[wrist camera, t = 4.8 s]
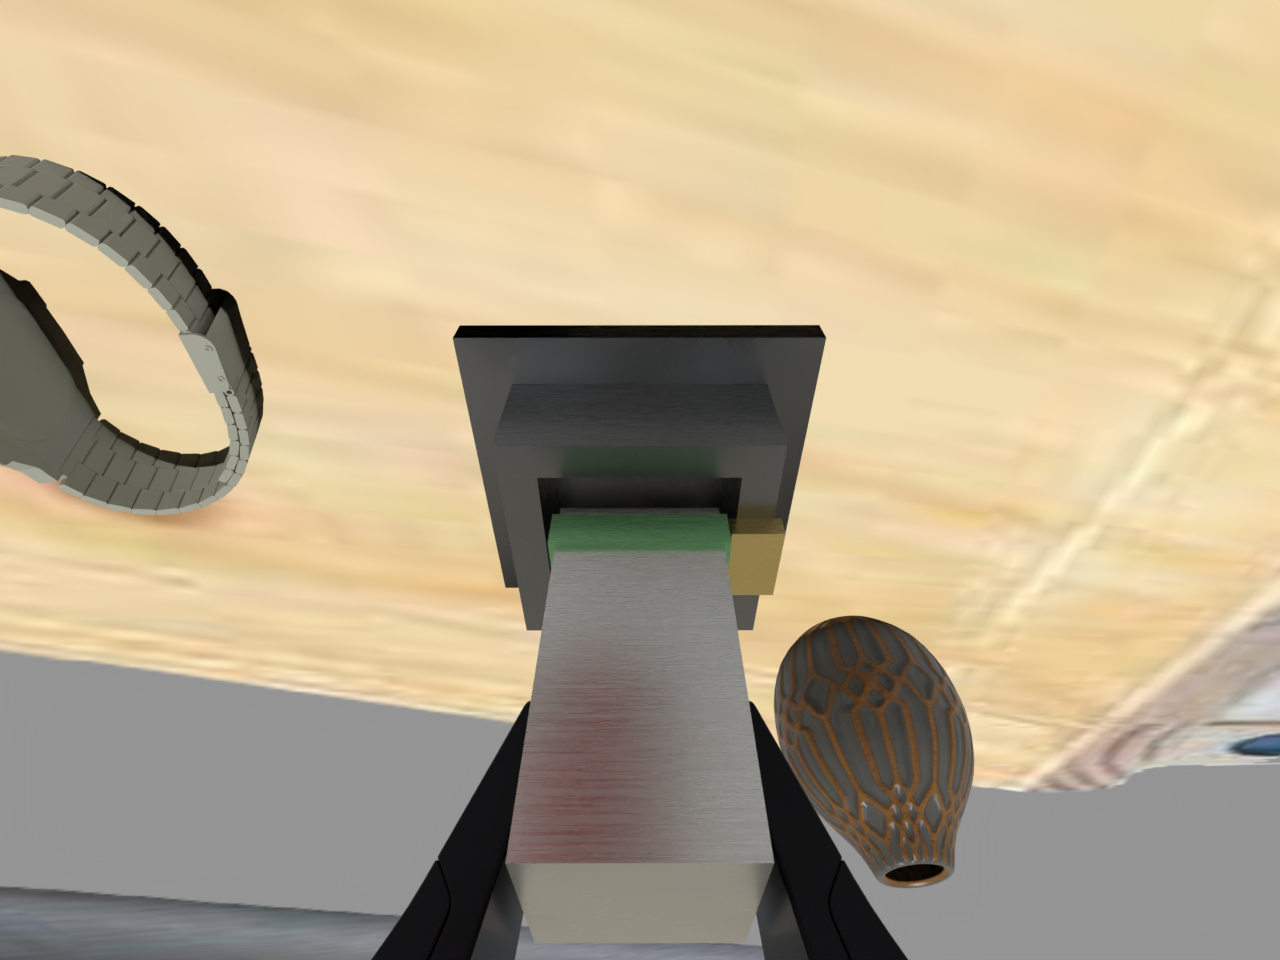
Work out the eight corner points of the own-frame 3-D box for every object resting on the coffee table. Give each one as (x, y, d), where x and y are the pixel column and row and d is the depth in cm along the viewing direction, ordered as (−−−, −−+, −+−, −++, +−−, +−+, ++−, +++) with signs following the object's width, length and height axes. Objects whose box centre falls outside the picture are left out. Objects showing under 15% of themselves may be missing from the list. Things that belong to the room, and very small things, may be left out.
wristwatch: (-71, 141, 14) (-347, 196, 10) (201, 148, 14) (32, 204, 10) (129, 456, 20) (3, 569, 16) (322, 460, 20) (244, 573, 16)
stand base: (819, 324, 17) (866, 408, 13) (770, 571, 23) (793, 672, 19) (459, 325, 17) (412, 409, 13) (509, 571, 23) (486, 672, 19)
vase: (959, 607, 24) (1085, 845, 17) (874, 698, 28) (948, 919, 22) (803, 577, 23) (872, 819, 16) (738, 676, 27) (771, 902, 20)
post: (724, 503, 15) (786, 858, 9) (712, 613, 18) (751, 945, 11) (554, 503, 15) (493, 860, 9) (567, 613, 18) (528, 945, 11)
